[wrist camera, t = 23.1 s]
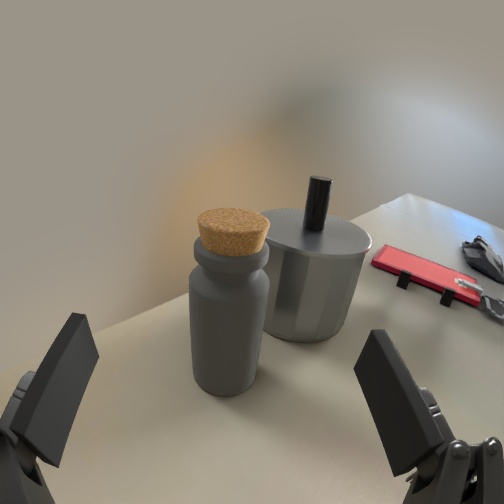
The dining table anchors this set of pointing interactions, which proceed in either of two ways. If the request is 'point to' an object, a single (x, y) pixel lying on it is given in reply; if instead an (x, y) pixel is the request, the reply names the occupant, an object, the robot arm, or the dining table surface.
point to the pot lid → (316, 227)
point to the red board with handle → (436, 279)
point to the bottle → (228, 299)
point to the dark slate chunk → (484, 258)
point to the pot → (308, 294)
